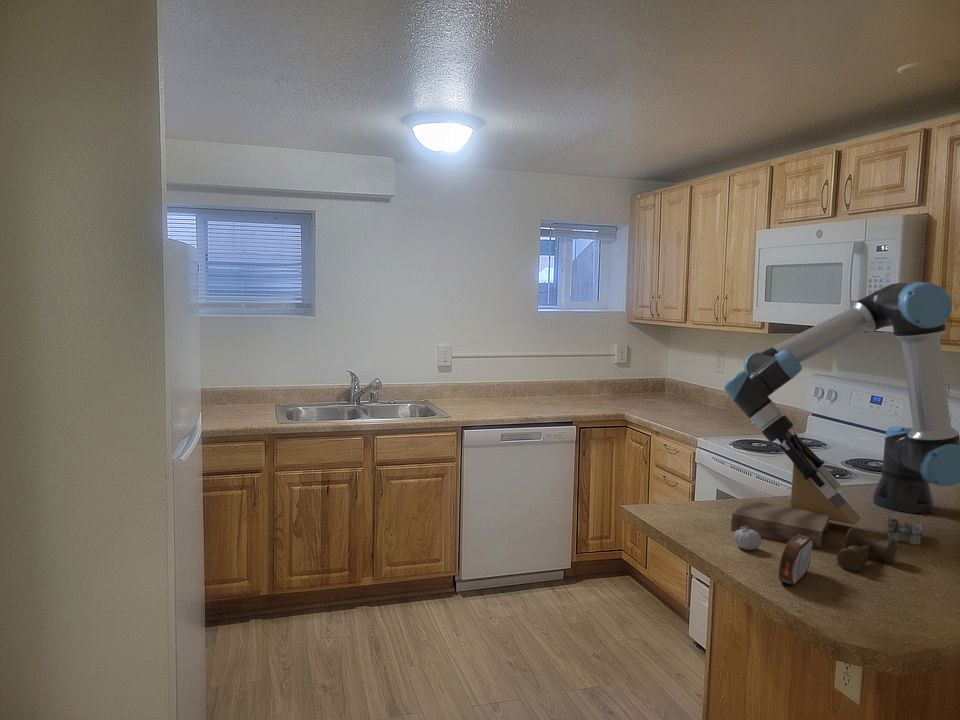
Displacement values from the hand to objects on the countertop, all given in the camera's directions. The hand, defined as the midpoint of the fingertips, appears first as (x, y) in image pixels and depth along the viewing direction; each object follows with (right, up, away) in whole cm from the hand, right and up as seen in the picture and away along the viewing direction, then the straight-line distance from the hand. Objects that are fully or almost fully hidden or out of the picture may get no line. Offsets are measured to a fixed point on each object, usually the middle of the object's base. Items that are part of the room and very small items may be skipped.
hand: (834, 491), depth 176 cm
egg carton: (+14, -11, -5) cm, 19 cm away
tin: (-26, -11, -35) cm, 45 cm away
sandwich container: (-2, -6, +1) cm, 7 cm away
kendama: (-5, -11, -23) cm, 26 cm away
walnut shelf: (-16, -9, -5) cm, 19 cm away
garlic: (-30, -10, -18) cm, 36 cm away
